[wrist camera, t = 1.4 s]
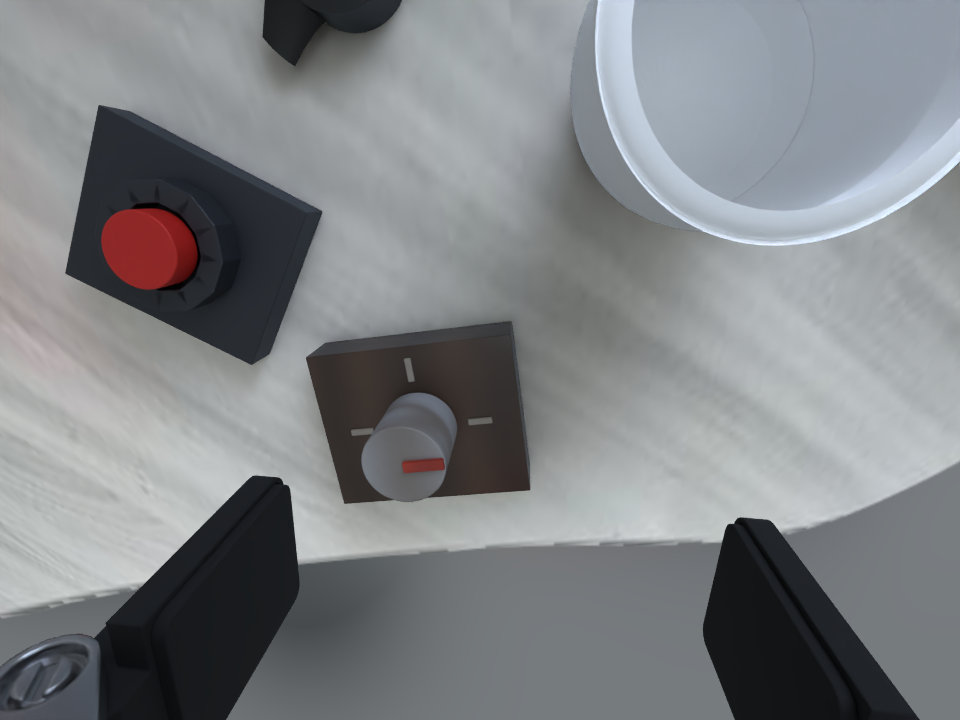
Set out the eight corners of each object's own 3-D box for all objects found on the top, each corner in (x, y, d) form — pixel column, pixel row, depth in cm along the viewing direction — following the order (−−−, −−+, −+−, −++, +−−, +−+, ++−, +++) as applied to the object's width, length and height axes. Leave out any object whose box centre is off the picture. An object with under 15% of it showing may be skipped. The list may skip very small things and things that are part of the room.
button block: (95, 268, 31) (36, 278, 27) (129, 111, 28) (67, 97, 24) (269, 354, 32) (235, 375, 28) (322, 211, 29) (292, 214, 25)
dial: (392, 461, 30) (368, 508, 26) (377, 395, 29) (350, 433, 24) (462, 455, 30) (451, 503, 25) (451, 388, 28) (436, 425, 24)
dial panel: (359, 478, 34) (343, 505, 31) (325, 342, 31) (304, 358, 28) (530, 465, 33) (530, 492, 30) (512, 320, 30) (510, 335, 27)
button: (120, 263, 27) (93, 267, 25) (135, 194, 26) (109, 194, 24) (187, 296, 27) (165, 303, 26) (207, 230, 26) (185, 233, 24)
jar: (747, 214, 27) (997, 238, 13) (556, 222, 28) (588, 254, 14) (775, -18, 23) (1160, -341, 9) (556, 1, 24) (600, -264, 10)
